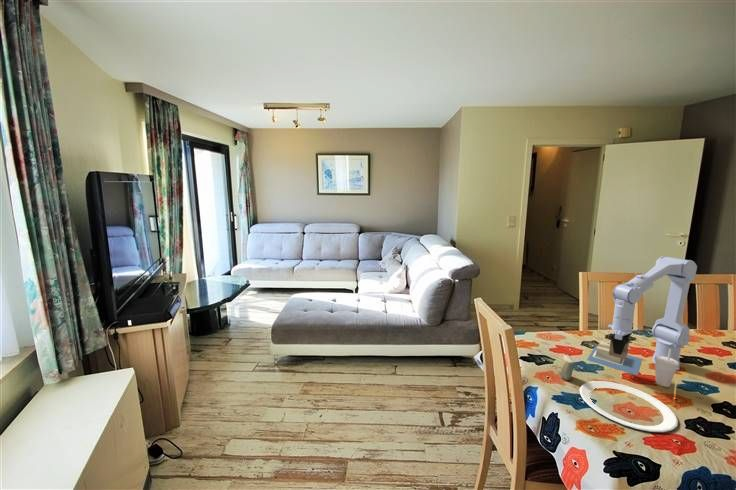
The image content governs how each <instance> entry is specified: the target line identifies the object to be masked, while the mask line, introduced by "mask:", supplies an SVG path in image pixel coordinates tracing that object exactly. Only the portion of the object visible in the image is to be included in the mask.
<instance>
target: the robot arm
mask: <svg viewBox="0 0 736 490" xmlns="http://www.w3.org/2000/svg"><path fill="white" fill-rule="evenodd" d="M697 269H698V265H697V264H696V262H695V261H693V260H691V259H683V258H677V257H670V256H667V255H662V256H660V257H659V258H658V259H656V261H655V265H654V266H653V267H652V268H651V269H649V271H648V270H647V272H646V273H645V274H637V275H636V276H635V277H633V278H632V279H630V280H629V281H627V282H625V283H624V284H621V283H620V284H618V285H616V286H615V287H614V288H613V289H612V291H611V295H612V297H613V304H614V310H613V317H612V324H608V326H607V328H608V329H611V330H612V332H613V333H610V334H609V338H610V341H611V340H612V343H613V351H614V353H616V354H619V355H621V354H622V352H623V349H624V346H625V345H626V343H627V342H628V341H629V342H630V338H629V337H631V336H632V333H633V324H634V323H633V322H634V317H635V309H636V304H637V303H639V301H641V298H642V297H643V295H644V293H646V292H647V291H649V290H650V289H651V288H653V286H654V282H656V281H659V280H660V279H662V278H663V277H666V276H667V277H668V278H669V279H670V287H669V292H668V295H667V300H666V304H665V305H666V307H665V310H664V316H663V317H662V318H658V319H656V320H655V322H654V325H653V326H652V329H651V333H652V336H653V337H654V340H655V341H656V343H655V350H654V353H653V356H652V360H651V362H652V363H654V364H655V360H654V359H655V356H665V357H668V353H669V349H671V354H670V358H671V359H674V360H676V361H677V362H678V363H679V366H678V367H677V368H676V371H680V364H681V363H680V356H681V349H682V347H683V348H684V347H685V346H687V345H688V344H689V341H690V339H691V337H690V327H689V326H687V325H686V324H685V323H684V322H683V316H684V312H685V307H686V303H687V297H688V293H689V289H690V285H691V284H690V283H691V282H694V281H695V278H696V274H697Z"/></svg>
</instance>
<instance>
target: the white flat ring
mask: <svg viewBox="0 0 736 490" xmlns="http://www.w3.org/2000/svg"><path fill="white" fill-rule="evenodd" d="M595 388H597V389H611V390H612V389H613V390H618V391H623V392H627V393H629V394H632V395H634V396H637V397H639V398H641V399H643V400H644V401H646V402H648V403H650V404H651V405H652V406H653V407H655V408H657V410H658V409H659V410H660V411H659V412H660V413H661V415H662V417H663V419H662V420H663V421H662V422H661V423H660V424H655V425H643V424H642V425H641V424H636V423H632V422H629V421H626V420H623V419H620V418H618V417H616V416H614V415H611V414H610V413H608V412H606V411H604V410H603V409H602V408H601V407H599V406H598V405H597V404H596V403H595V402H594V401H593V399H592V398H591V399H592V400H591V399H590V396H591V393H592V392H593V391H594V389H595ZM595 390H596V389H595ZM590 392H591V393H590ZM589 393H590V394H589ZM579 395H580V396H581V399H582V401H584V403H585V404H587V406H588V407H590V408H591V409H592V410H593V411H595V412H596V413H598V414H599V415H601V416H603V417H605V418H606V419H608V420H610V421H612V422H615V423H617V424H620V425H622V426H625V427H628V428H632V429H634V430H638V431H643V432H649V433H667V432H671V431H674V430H675V429H676V428H678V424H679V419H678V417H677V416H676V414H675V413H674V411H672V410H671V409H670V407H668V405H666V404H664V403H663V402H662V401H661V400H659V399H658V398H656V397H654V396H652V395H650V394H648V393H646V392H644V391H642V390H640V389H636V388H635V387H631V386H629V385H625V384H621V383H618V382H612V381H605V380H593V381H587V382H585V383H582V384H581V386H580V387H579ZM589 395H590V396H589ZM592 401H593V402H594V403H595V404H594V403H593V402H592Z"/></svg>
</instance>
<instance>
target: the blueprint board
mask: <svg viewBox="0 0 736 490" xmlns="http://www.w3.org/2000/svg"><path fill="white" fill-rule="evenodd" d="M597 346H598V345H594V347H593V349H592V350H591V352H590V354H589V355H588V357H587V359H586V361H589V362H593V363H596V364H599V365H602V366H606V367H609V368H611V369H615V370H618V371H622V372H625V373H628V374H631V375H635V376H638V375H639V371H640V367H641V364H642V361H643V358H641V357H637V356H634V355H629V354H627V357H626V359H621V362H620V364H618V363H615V362H612V361H608V360H605V359H602V358H598V357H596V349H597Z"/></svg>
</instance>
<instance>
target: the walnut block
mask: <svg viewBox="0 0 736 490" xmlns="http://www.w3.org/2000/svg"><path fill="white" fill-rule="evenodd" d="M609 344H610V349H609V355H612V356H615V357H619V358H622V359H626V357H627V355H629V354H628V353H629V347H630V345H629V344H630V340H629V341H628V342H627V343H626V345H625V346H624V349H623V352H622V354H621V355H619V354H616V353H614V351H613V343H612V340H611V339H610V343H609Z"/></svg>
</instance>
